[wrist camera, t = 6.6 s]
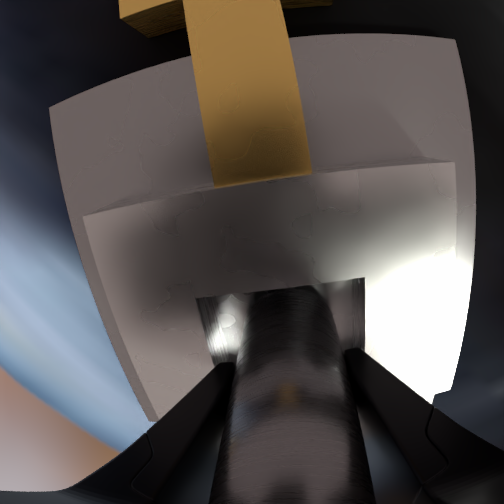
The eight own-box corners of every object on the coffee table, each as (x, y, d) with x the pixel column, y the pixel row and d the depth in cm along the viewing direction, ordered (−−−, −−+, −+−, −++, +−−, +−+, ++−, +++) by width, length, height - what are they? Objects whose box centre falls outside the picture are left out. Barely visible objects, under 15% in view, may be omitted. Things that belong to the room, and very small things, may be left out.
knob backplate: (422, -32, 7) (449, -61, 4) (445, 381, 12) (465, 417, 10) (53, 34, 8) (12, 21, 6) (152, 412, 14) (136, 450, 11)
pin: (346, 265, 10) (467, 587, 1) (349, 367, 11) (394, 614, 2) (217, 281, 10) (95, 592, 2) (240, 379, 11) (197, 622, 3)
